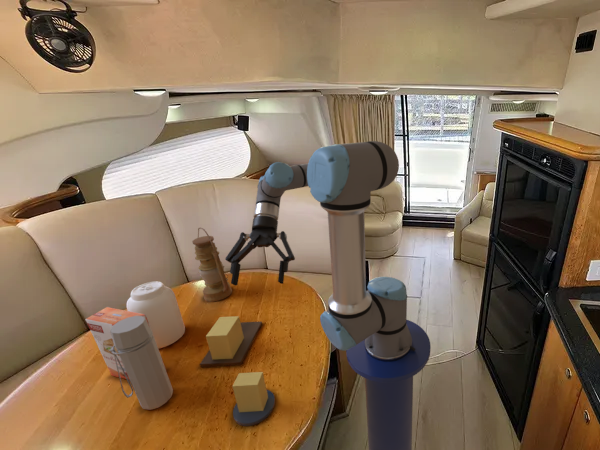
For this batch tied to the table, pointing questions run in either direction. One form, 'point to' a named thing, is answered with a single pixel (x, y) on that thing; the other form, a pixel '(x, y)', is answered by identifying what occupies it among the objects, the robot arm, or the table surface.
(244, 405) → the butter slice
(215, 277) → the lantern
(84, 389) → the table surface
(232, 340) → the butter block
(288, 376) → the table surface
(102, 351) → the cracker box
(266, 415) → the plate
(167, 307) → the white jar
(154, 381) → the water bottle
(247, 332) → the butter board
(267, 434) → the table surface
